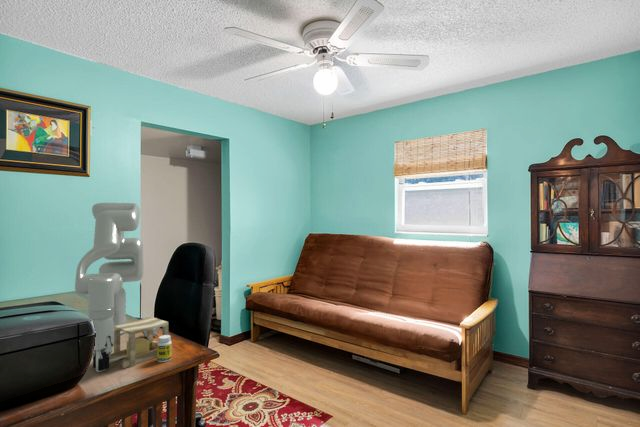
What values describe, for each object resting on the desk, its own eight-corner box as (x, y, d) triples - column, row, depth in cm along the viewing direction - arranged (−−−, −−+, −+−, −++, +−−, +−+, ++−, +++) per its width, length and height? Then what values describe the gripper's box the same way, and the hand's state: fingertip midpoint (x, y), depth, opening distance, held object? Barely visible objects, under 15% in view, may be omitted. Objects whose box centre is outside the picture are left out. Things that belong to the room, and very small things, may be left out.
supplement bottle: (156, 363, 122) (156, 339, 122) (157, 358, 126) (157, 335, 126) (171, 361, 124) (171, 337, 124) (171, 356, 128) (171, 333, 128)
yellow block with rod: (92, 369, 117) (92, 348, 117) (141, 353, 131) (141, 334, 131) (100, 373, 114) (100, 352, 114) (149, 356, 128) (149, 337, 128)
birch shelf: (108, 360, 124) (108, 327, 124) (151, 346, 137) (151, 316, 138) (124, 369, 117) (124, 333, 118) (168, 353, 131) (168, 321, 131)
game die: (145, 346, 148) (131, 328, 148) (161, 333, 155) (147, 316, 155) (153, 340, 143) (138, 321, 142) (170, 327, 150) (155, 309, 150)
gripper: (78, 312, 118) (78, 366, 118) (100, 320, 109) (100, 378, 109) (102, 307, 125) (101, 358, 125) (124, 315, 115) (124, 370, 115)
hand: (101, 367), depth 117 cm, fingers closed on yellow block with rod, 3 cm apart
